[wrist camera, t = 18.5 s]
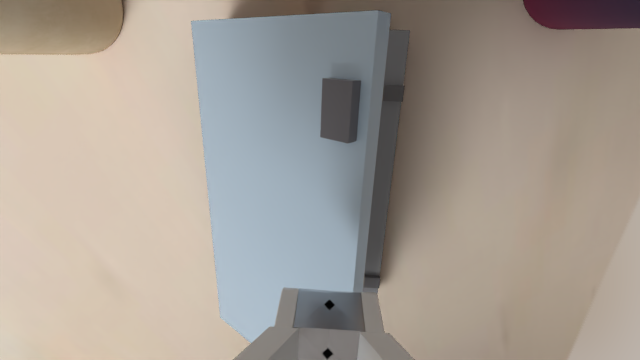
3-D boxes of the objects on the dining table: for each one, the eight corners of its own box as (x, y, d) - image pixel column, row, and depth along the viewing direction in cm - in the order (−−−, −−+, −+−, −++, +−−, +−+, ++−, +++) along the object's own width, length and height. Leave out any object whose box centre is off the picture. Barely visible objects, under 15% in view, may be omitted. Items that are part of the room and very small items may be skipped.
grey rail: (371, 291, 25) (375, 319, 22) (241, 283, 25) (230, 309, 22) (400, 33, 18) (411, 30, 16) (225, 27, 18) (206, 22, 16)
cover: (353, 401, 17) (335, 426, 16) (231, 306, 23) (211, 319, 21) (395, 14, 10) (369, 8, 9) (208, 23, 16) (177, 19, 15)
